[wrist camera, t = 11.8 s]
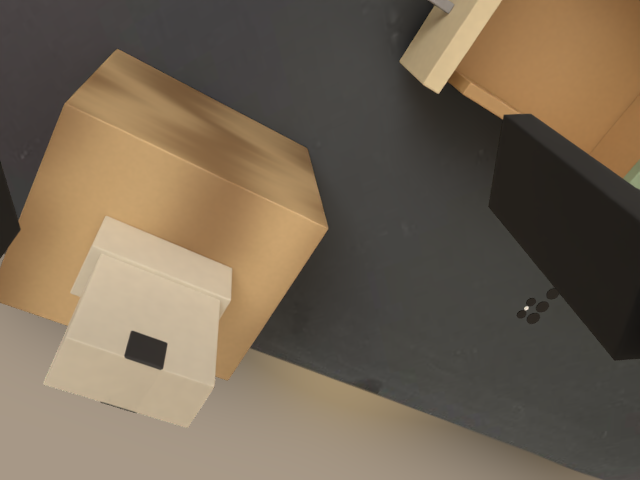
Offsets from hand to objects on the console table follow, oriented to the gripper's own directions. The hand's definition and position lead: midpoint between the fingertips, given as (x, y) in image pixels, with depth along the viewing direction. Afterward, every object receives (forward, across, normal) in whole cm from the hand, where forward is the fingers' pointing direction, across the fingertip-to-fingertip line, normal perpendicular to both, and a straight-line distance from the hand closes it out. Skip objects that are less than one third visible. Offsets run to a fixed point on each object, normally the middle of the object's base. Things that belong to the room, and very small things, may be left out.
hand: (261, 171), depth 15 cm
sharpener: (+12, -6, -10) cm, 17 cm away
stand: (+24, -6, -10) cm, 27 cm away
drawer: (+23, +18, 0) cm, 29 cm away
